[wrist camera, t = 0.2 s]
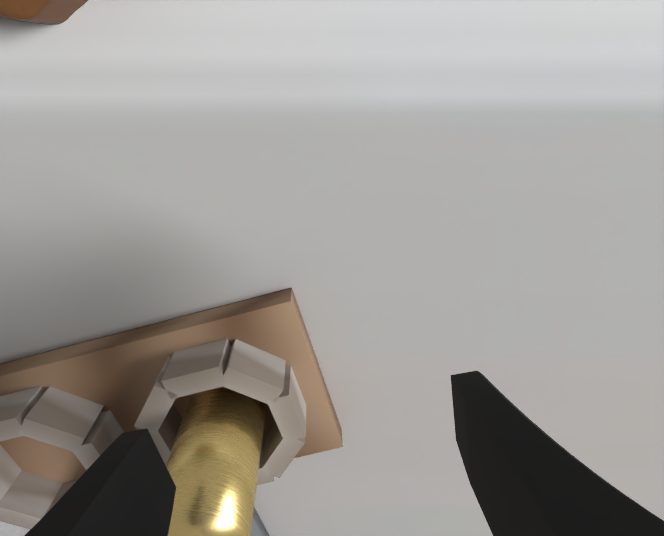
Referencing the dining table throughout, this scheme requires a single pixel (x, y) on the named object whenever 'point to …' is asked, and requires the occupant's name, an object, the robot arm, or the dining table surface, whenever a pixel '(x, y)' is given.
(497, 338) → the dining table surface
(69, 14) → the plant
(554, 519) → the robot arm
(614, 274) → the dining table surface
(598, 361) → the dining table surface
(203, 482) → the cylinder
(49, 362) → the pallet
